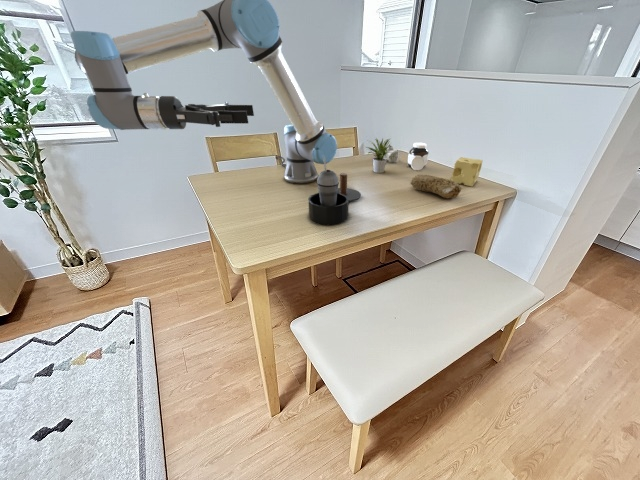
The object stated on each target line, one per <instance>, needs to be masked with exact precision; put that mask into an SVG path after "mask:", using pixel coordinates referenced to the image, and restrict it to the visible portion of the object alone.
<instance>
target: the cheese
mask: <svg viewBox="0 0 640 480" xmlns="http://www.w3.org/2000/svg"><path fill="white" fill-rule="evenodd" d="M483 161H484V160H483V159H480V158H479V159H478V158H470V157H463V156H460V157H459V158H458V159H457V160H456V161H455V162H454V166H453V171H452V174H451V179H450V180H452V181H453V182H455V183H457V184H459V185H462V184H463V185H464V186H468V187H473V186H474V185H475V184H476V182H477V180H478V178H479V176H480V173H481V170H482V166H483Z"/></svg>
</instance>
